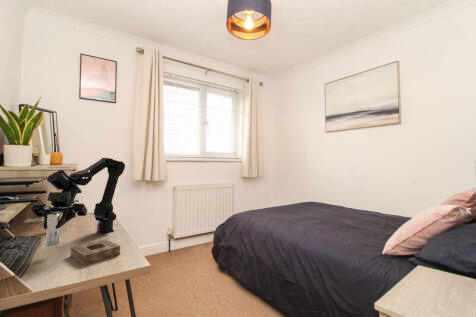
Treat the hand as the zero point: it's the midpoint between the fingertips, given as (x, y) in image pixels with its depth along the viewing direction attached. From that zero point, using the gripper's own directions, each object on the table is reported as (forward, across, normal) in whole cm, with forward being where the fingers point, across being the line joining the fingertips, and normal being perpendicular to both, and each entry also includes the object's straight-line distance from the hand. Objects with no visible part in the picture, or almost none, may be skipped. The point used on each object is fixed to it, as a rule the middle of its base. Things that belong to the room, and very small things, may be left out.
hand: (51, 228), depth 89 cm
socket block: (+8, +16, +8) cm, 20 cm away
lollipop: (-21, -16, +38) cm, 46 cm away
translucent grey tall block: (+4, 0, +6) cm, 7 cm away
